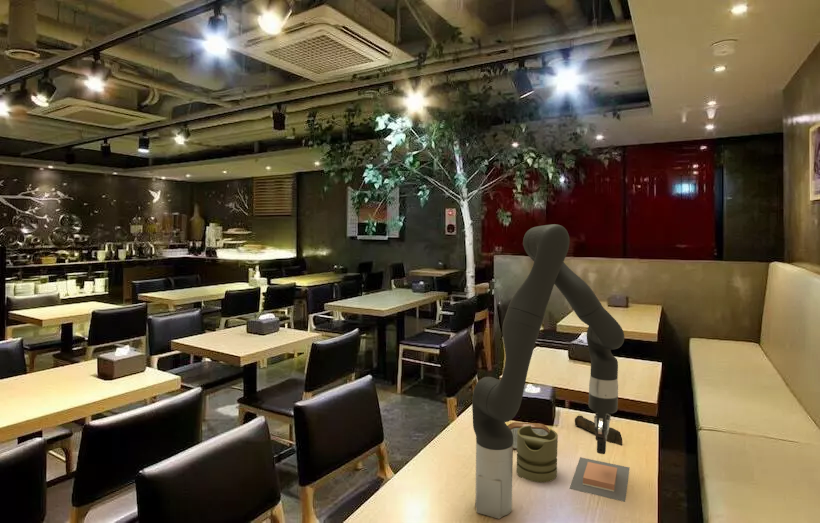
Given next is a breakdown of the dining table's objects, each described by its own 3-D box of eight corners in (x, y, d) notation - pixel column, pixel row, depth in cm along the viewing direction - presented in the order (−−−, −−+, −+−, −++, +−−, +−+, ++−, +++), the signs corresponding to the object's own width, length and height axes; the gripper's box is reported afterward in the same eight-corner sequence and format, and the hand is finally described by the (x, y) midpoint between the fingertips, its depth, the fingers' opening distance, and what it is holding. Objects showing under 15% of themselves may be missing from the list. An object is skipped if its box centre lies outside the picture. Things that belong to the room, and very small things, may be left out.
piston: (522, 422, 150) (560, 429, 145) (521, 460, 151) (559, 468, 146) (513, 437, 140) (554, 445, 135) (512, 478, 141) (553, 487, 136)
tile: (617, 474, 142) (614, 491, 133) (587, 468, 145) (582, 484, 136) (617, 467, 142) (614, 484, 133) (587, 461, 145) (583, 477, 136)
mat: (625, 503, 128) (625, 501, 128) (569, 490, 134) (569, 488, 134) (629, 468, 146) (629, 467, 146) (580, 458, 152) (580, 457, 152)
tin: (550, 448, 159) (551, 422, 159) (552, 452, 156) (552, 426, 156) (503, 446, 161) (503, 420, 160) (504, 450, 158) (504, 424, 157)
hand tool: (573, 426, 176) (573, 414, 176) (582, 424, 178) (582, 412, 178) (615, 449, 159) (615, 435, 159) (624, 446, 161) (625, 432, 160)
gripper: (615, 402, 130) (613, 466, 131) (619, 387, 141) (617, 445, 143) (585, 397, 133) (583, 459, 134) (592, 383, 145) (590, 440, 146)
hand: (601, 452), depth 139 cm, fingers closed
